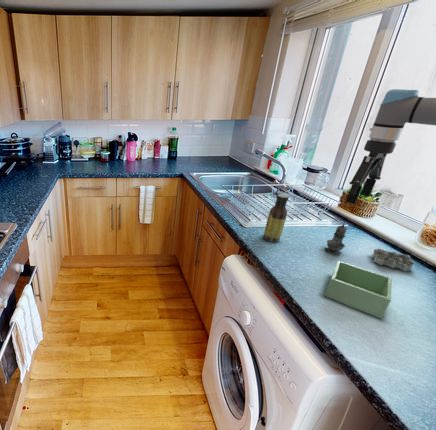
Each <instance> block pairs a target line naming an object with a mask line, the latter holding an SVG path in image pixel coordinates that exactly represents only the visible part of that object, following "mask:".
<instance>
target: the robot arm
mask: <svg viewBox="0 0 436 430" xmlns="http://www.w3.org/2000/svg"><path fill="white" fill-rule="evenodd" d="M419 92H420V91H419V89H403V88H402V89H400V88H399V89H397V88H396V89H395V88H394V89H389V90H388V91H386V93H385V95H384V97H383V100H382V102H381V103H380V107H379V108H378V111H377V114H376V118H375V120H374V122H373V124H372V127H370V128H369V135H368V139H367V140H366V142H365V144H364V147H363V150H364V151H365V152H369V154H368V155H364V156H363V159H362V161H361V163H360V165H359V167H357V168H358V169H357V170H356V172H355V174H354V175H353V177H352V180H351V181H349V185H351V186H350V189H349V192H348V194H347V197H346V199H345V203H348V204H351V205H356V203H357V201H358V198H359V196H362V197H363V196H364V197H367V198H370V196H371V194H372V192H373V190H374V187H375V185H376V182H377V180H378V181H380V180H381V175H382V172H383V168H384V164H385V159H386V157H387V155H390V154H392V153H393V152H394V150H395V148H396V145H397V141H399V139H400V138H401V135H402V132H403V130H404V127H405V125H406V123H408V124H418V125H427V126H436V97H424V96H419Z"/></svg>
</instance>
